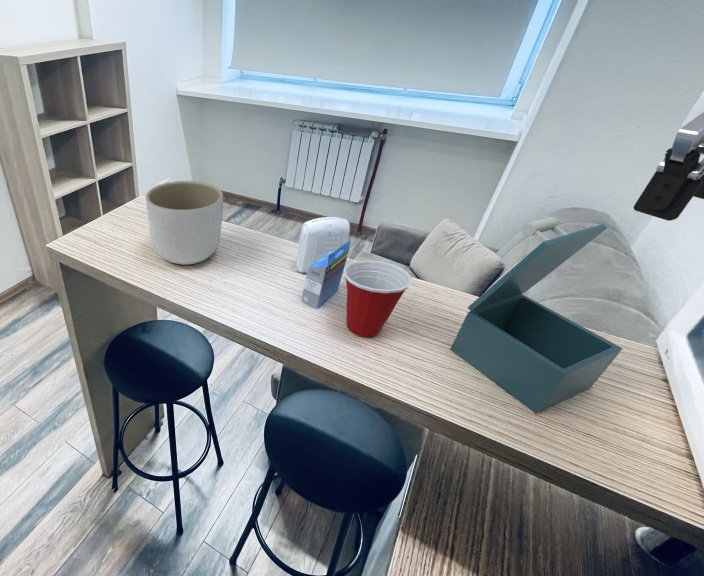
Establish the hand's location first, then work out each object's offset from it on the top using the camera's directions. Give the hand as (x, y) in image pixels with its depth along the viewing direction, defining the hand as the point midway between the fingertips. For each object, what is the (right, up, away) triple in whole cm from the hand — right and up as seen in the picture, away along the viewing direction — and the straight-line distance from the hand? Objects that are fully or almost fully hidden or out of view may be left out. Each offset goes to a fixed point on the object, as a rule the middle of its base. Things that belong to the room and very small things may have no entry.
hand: (680, 206), depth 41 cm
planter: (-51, 0, +57) cm, 77 cm away
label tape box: (-23, -10, +42) cm, 49 cm away
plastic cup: (-18, -16, +34) cm, 42 cm away
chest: (+3, -21, +25) cm, 33 cm away
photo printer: (-21, -4, +51) cm, 55 cm away
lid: (+1, -6, +19) cm, 20 cm away
